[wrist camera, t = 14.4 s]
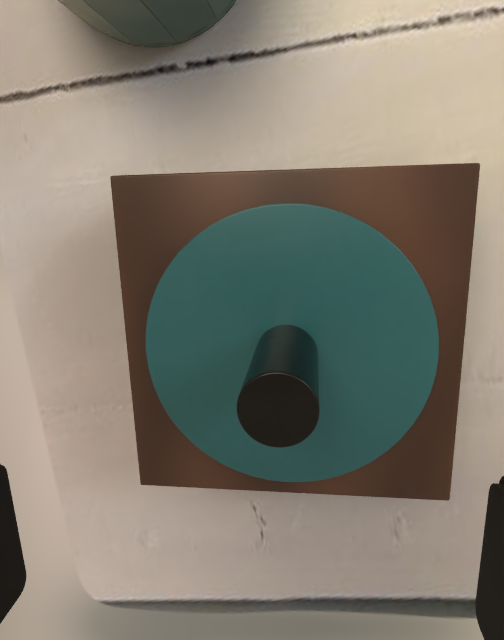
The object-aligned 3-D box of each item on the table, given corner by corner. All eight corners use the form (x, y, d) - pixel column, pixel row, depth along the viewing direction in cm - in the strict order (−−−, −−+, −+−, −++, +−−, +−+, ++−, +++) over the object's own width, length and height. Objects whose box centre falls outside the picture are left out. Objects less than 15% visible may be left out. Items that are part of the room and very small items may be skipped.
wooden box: (178, 421, 30) (140, 485, 24) (160, 180, 27) (109, 175, 20) (417, 429, 29) (449, 501, 22) (435, 171, 25) (480, 162, 18)
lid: (163, 463, 23) (107, 563, 17) (142, 206, 20) (64, 211, 14) (423, 475, 22) (468, 590, 15) (443, 198, 19) (511, 200, 12)
